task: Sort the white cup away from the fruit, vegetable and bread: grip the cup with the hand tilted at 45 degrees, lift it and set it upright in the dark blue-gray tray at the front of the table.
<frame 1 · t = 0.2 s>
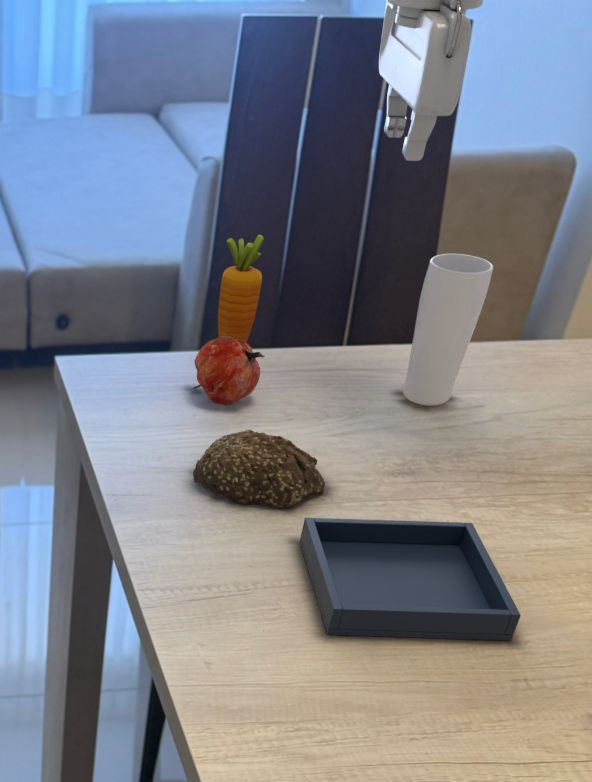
hand: (401, 147, 117), 26 cm above the table, tool pointing down, fingers open, 8 cm apart
bread roll: (259, 482, 119), on the table
pomegranate: (220, 401, 134), on the table
white cup: (424, 399, 135), on the table
carrot: (228, 367, 141), on the table
dark blue-gray tray: (399, 588, 104), on the table
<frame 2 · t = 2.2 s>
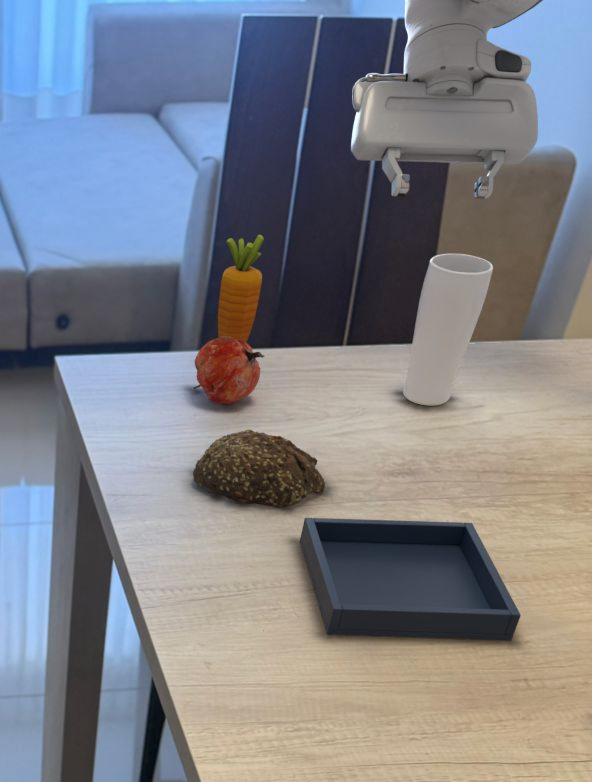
hand: (441, 194, 131), 19 cm above the table, tool tilted 45°, fingers open, 8 cm apart
nothing on the table moved.
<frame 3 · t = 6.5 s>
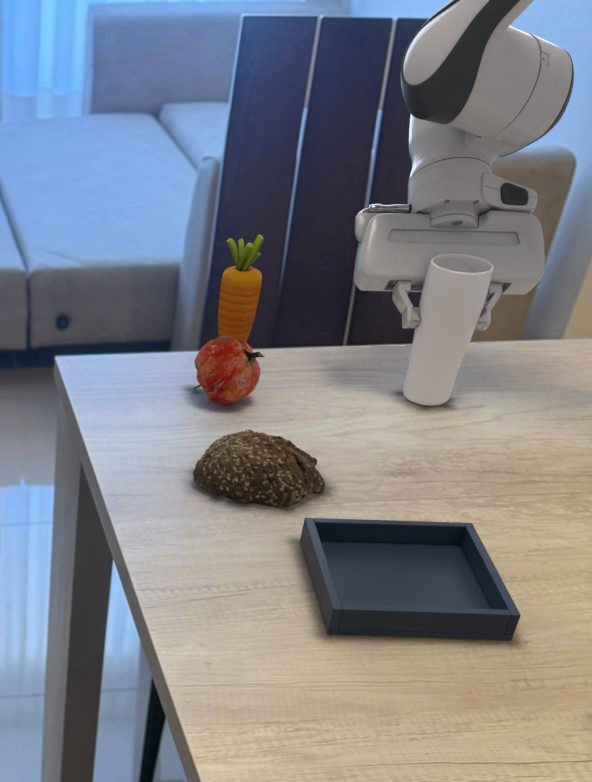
hand: (446, 327, 128), 8 cm above the table, tool tilted 45°, fingers closed on white cup, 6 cm apart
white cup: (424, 399, 135), on the table, touching gripper
everything else where it was.
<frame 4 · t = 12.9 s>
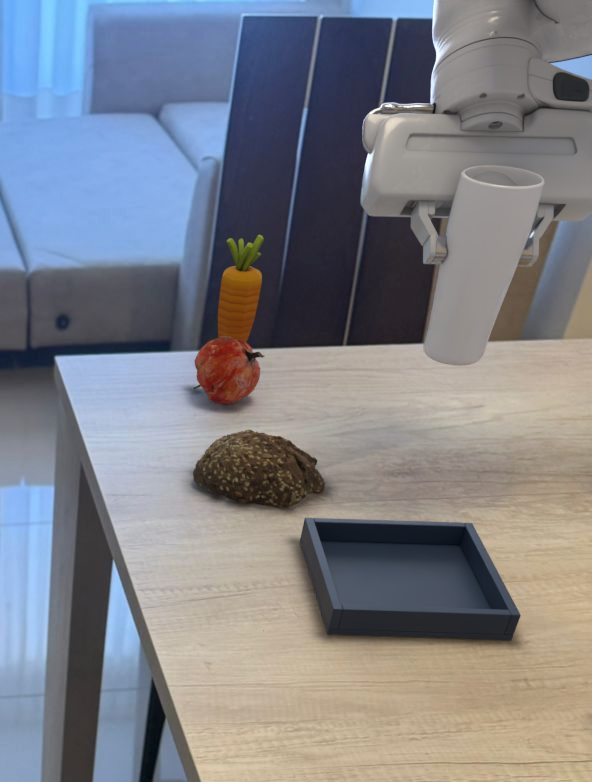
hand: (480, 262, 99), 23 cm above the table, tool tilted 45°, fingers closed on white cup, 6 cm apart
white cup: (450, 358, 105), point 15 cm above the table, touching gripper
everything else where it was.
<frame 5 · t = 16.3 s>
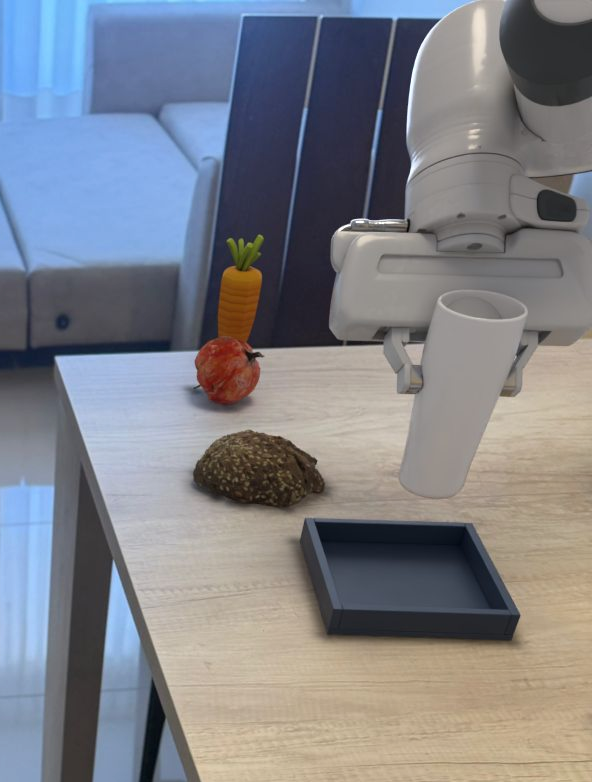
hand: (459, 393, 91), 18 cm above the table, tool tilted 45°, fingers closed on white cup, 6 cm apart
white cup: (428, 488, 97), point 10 cm above the table, touching gripper
everything else where it was.
when the fingers open (9 cm above the table, at t = 19.5 s): white cup stays where it is, resting on dark blue-gray tray.
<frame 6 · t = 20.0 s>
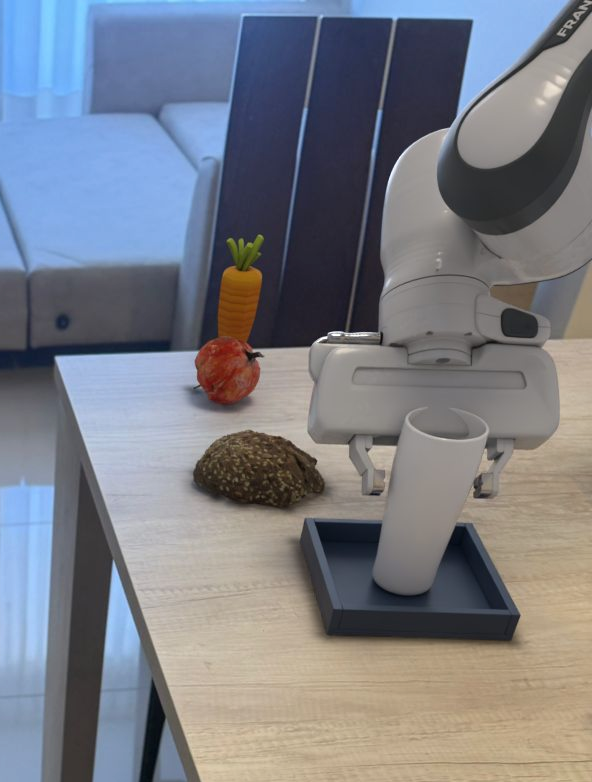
hand: (429, 495, 97), 9 cm above the table, tool tilted 45°, fingers open, 8 cm apart
white cup: (400, 584, 104), resting on dark blue-gray tray
everything else where it was.
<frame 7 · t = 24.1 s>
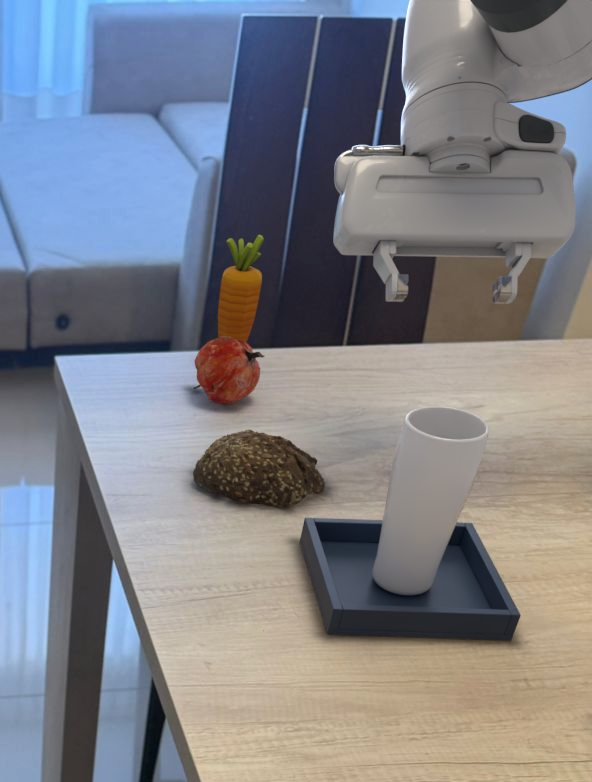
hand: (450, 299, 102), 20 cm above the table, tool tilted 45°, fingers open, 8 cm apart
nothing on the table moved.
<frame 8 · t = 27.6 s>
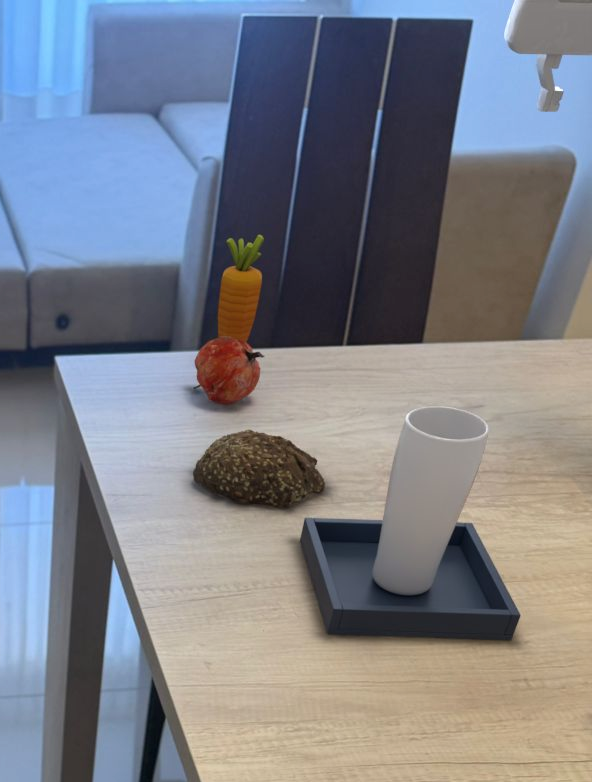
nothing on the table moved.
at the end: white cup inside the target area in the dark blue-gray tray (0.0 cm from its centre), point 0.4 cm above the dark blue-gray tray's base; white cup tilted 0°; the gripper is holding nothing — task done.
